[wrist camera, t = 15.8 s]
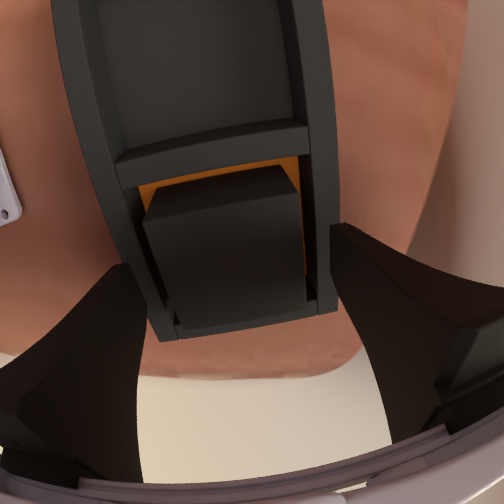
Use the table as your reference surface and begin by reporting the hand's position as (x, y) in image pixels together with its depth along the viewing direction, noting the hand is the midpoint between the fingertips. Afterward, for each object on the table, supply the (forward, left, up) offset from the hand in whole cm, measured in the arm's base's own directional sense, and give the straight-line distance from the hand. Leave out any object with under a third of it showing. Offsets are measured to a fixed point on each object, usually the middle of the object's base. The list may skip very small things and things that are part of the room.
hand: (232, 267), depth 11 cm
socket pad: (0, +4, -3) cm, 5 cm away
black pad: (0, 0, -3) cm, 3 cm away
